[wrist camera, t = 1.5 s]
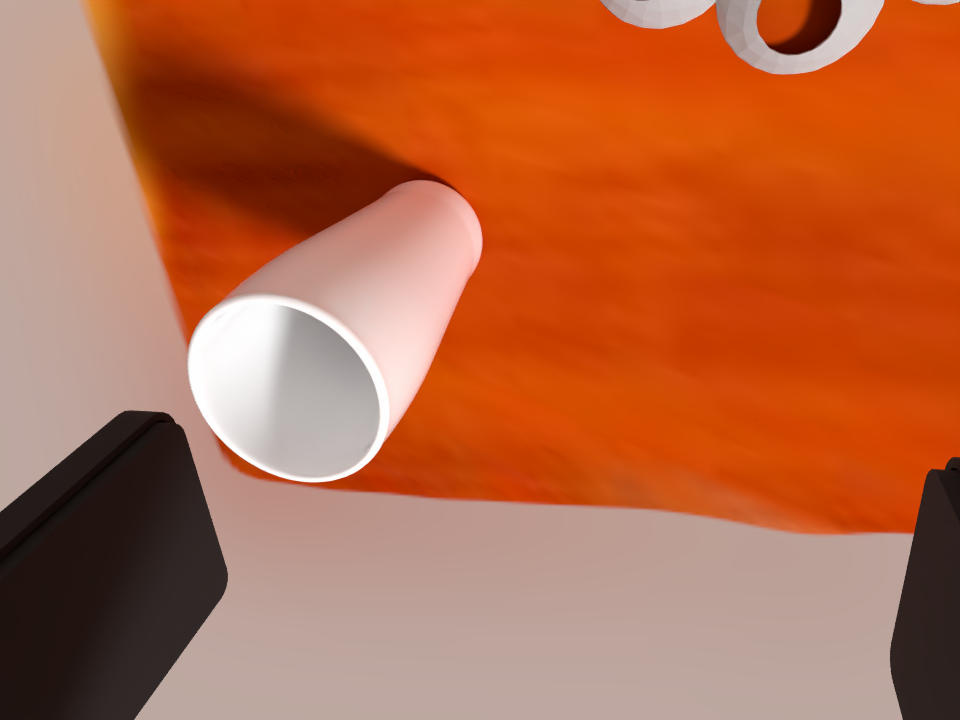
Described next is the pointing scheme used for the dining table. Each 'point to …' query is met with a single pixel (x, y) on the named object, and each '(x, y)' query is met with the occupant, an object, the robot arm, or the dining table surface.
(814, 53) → the round palette
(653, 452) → the dining table surface
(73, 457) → the robot arm
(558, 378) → the dining table surface
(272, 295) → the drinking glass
